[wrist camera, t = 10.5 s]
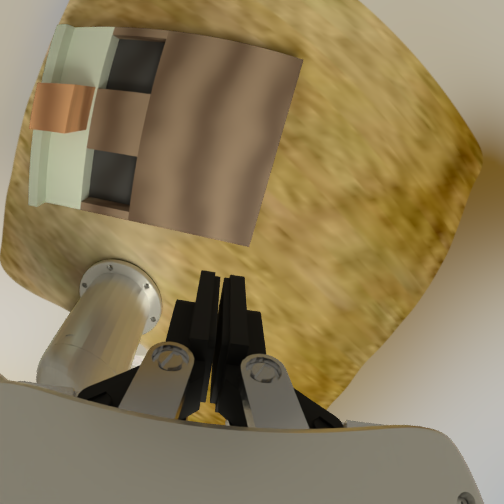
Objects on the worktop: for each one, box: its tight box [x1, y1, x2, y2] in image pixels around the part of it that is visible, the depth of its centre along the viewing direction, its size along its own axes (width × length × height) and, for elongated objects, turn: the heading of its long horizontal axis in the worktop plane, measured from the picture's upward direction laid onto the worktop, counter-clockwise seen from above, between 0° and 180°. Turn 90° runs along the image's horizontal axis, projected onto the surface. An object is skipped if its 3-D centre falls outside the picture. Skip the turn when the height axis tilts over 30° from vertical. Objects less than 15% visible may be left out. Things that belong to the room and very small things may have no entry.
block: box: [29, 83, 96, 134], centre depth 25 cm, size 5×5×5 cm
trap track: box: [80, 27, 303, 247], centre depth 31 cm, size 21×22×2 cm
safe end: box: [29, 24, 119, 209], centre depth 28 cm, size 7×22×4 cm, turn 165°
